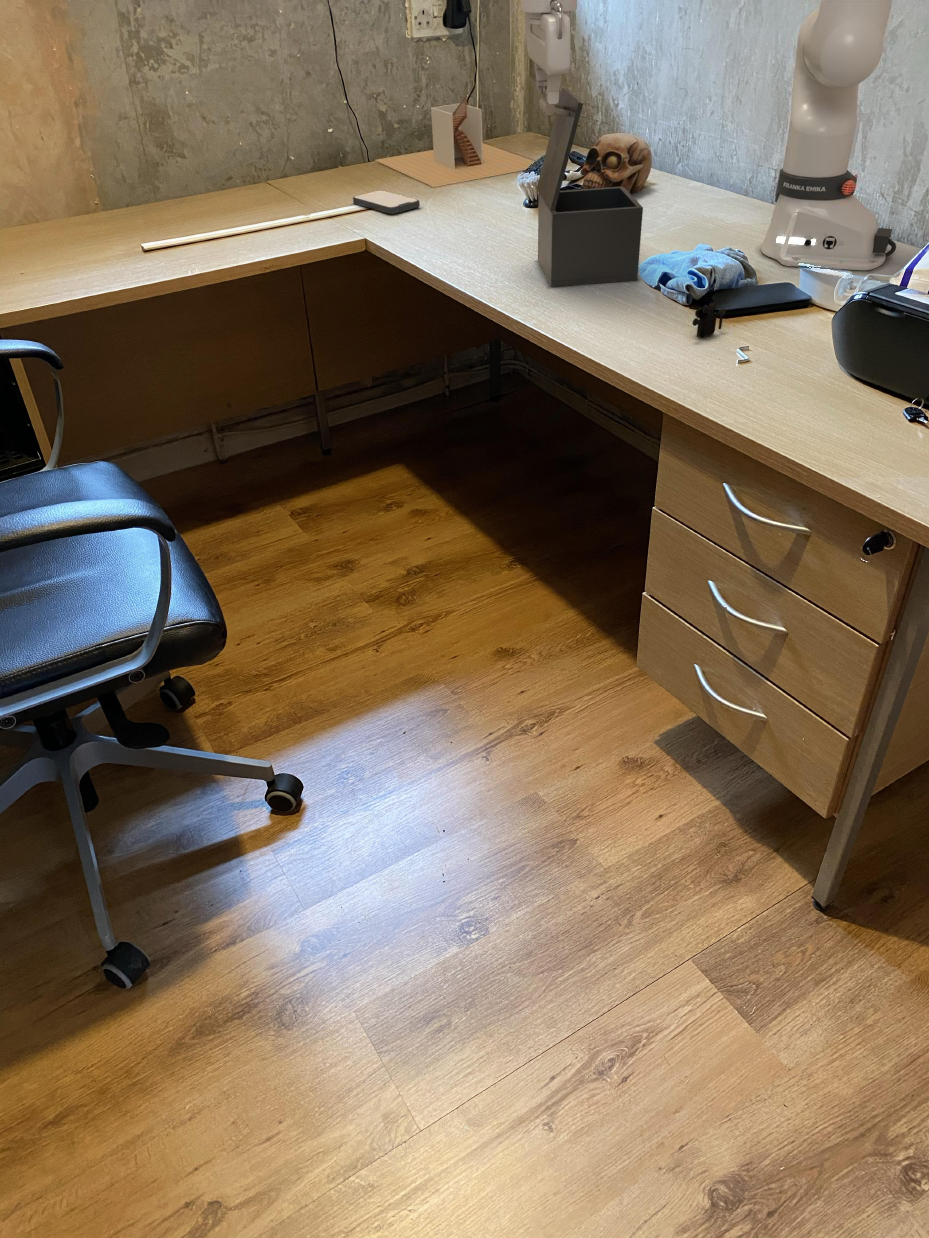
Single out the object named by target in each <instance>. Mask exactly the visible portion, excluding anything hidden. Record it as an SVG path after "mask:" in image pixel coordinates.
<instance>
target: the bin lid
mask: <svg viewBox="0 0 929 1238" xmlns="http://www.w3.org/2000/svg"><path fill="white" fill-rule="evenodd" d="M538 106H539V108H540V109H541V111H543V112H544V114H546V115H547V116H548V117H551V116H554V119H553V122H552V127H551V130H550V134H549V137H548V142H547V146H546V150H545V155H544V159H543V162H542V164H543V166H542V167H541V170H540V175H539V178H538V182H537V187H536V191H537V192H538V195H539V194H540V195H541V197H542V198H543V200H544V202H545V203H546V205H547V206H548V208H549V209H550V211H553V212H555V208H556V205H557V201H558V197H559V193H560V191H562V189H561V188H562V186H563V182H564V178H565V174H566V170H567V167H568V163H569V159H570V155H571V151H572V148H573V145H574V141H575V137H576V133H577V129H578V125H579V121H580V117H581V114H582V110H583V106H584V103H583V102H582V101H581V100H580V99H579V98H577V96H575V94H573V93H572V92H571V91H570V90H569V89H568V88H566V87H561V91H560V93H559V101H558V103H557V104H549V103H548V102H547V101H546V96H542V97H541V98H540V99H539V101H538Z"/></svg>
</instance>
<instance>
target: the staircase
mask: <svg viewBox="0 0 929 1238" xmlns="http://www.w3.org/2000/svg"><path fill="white" fill-rule="evenodd" d="M467 97H468V96H467V92H465V93H464V97H463V98H462V99H461V101H460V103H452V104H446V105H440V106H433V107H430V116H431V131H432V132H431V133H432V147H433V149H432V150H433V161H434V162H435V163H437V164H440V165H442V166H445V167H447V168H450V169H452V170H455V169H456V161H455V159H457V158H462V159H463V161H464V163H465V165H466V166H467V167H469V166H473V165H478V164H480V165H483V164H484V143H485V142H483V110H482V109H483V108H482V109H481V108H478V107H475V106H471V105H469V104H468V102H467V101H468V100H467V99H468V98H467Z"/></svg>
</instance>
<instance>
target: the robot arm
mask: <svg viewBox="0 0 929 1238" xmlns="http://www.w3.org/2000/svg"><path fill="white" fill-rule="evenodd" d="M892 4H893V0H820V5H819V6H818V7H816V8H815V9H814V10H812V12H810V13H809V14H808V15H807V17H806V18H805V19H804V21H803V22H802V24H801V26H800V29H799V32H798V36H797V41H796V42H797V43H796V51H795V59H794V70H793V81H792V92H791V94H792V95H791V108H790V120H789V128H788V133H787V139H786V146H785V150H784V151H785V152H784V156H783V157H784V159H783V164H782V168H780V169H779V173H778V176H777V181H776V185H775V186H776V187H775V193H774V202H775V204H774V209H773V213H772V216H771V219H770V221H769V222H770V223H769V225H768V229H767V231H766V234H765V236H764V239H763V241H762V243H761V245H760V247H759V250H760V251H761V253H762V254H763V255H765V256H767V257H769V258H771V259H773V260H776V261H777V262H778V263H780V264H781V266H782V265H783V266H787V267H798V264H799V263H804V264H810V265H814V266H821V267H828V268H827V269H832V268H833V269H834V270H848V271H849V270H851V271H871V270H875V269H877V268H879V267H880V266H882V265H883V264H884V263H885V261H886V260H887V258H888V257H890V256H891V255H893V254H894V253H895V252H896V250H897V244H896V242H895V241H894V240H893V239H891V236H892V231H893V229H892V228H884V227H879V225H878V220H877V218H876V217H877V216H875V215H874V213H872V211H870V210H869V209H868V208H867V207H866V205H864V204H863V203H862V202H861V201H860V200H859V199H858V198H857V197H856V196H855V195H854V194H855V191H856V187H857V183H858V174H857V173H855V175H854V174H853V173H852V172H851V171H849V170H848V167H849V163H850V158H851V152H852V148H853V143H854V137H855V133H856V130H857V129H856V128H857V125H858V115H857V114H858V113H857V112H858V111H857V110H858V95H859V84H861V83H862V82H864V81H865V80H867V79H868V78H869V77H870V76H871V75H872V74H873V73H874V71H875V70H876V68H877V67H878V65H879V63H880V62H881V59H882V55H883V51H884V42H885V41H884V39H885V36H886V35H885V34H886V30H887V26H888V23H889V18H890V13H891V10H892ZM577 9H578V0H520V11H521V13H524V26H525V27H524V29H525V40H526V41H525V42H526V51H527V56H528V58H529V59H530V60H532V61H533V62H534V71H535V80H536V92H537V93H538V94H540V95H541V94H545V95H546V96H545V97H546V101H547V102H548V103H549V104H558V102H559V98H560V89H561V84H562V77H563V76H562V75H568V74H569V73H570V69H571V57H572V56H571V49H572V48H571V45H572V42H571V37H572V36H571V35H572V33H571V20H570V17H569V16H570V12H573V11H576V10H577ZM889 246H890V250H888V247H889ZM833 269H832V270H833Z"/></svg>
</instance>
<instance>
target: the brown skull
mask: <svg viewBox="0 0 929 1238" xmlns="http://www.w3.org/2000/svg"><path fill="white" fill-rule="evenodd" d="M652 164H653V156H652V150H651V147H650V145H649V144H648V142H647V141H646V139H643V138H642V137H640V136H638V135H635V134H631V133H626V132H616V133H607V134H603V135H601V136H600V137H599V139H598V140H597V141H596V142H595V144H594V146H592V147H590V149H589V150H588V152H587V154H586V156H585V159H584V163H583V167H582V168H581V169H580V172H579V173H580V175H581V176H584V177H583V181H582V187H581V189H594V188H608V187H622V186H623V187H624V188H625V189H626V190H627V191H628V192H629V193H630V194H632V193H633V194H634V193H637V192H639V191H640V190H641V188H642V187H644V185H645V184H646V182H647V180H648V178H649V176H650V174H651V170H652V166H653V165H652Z"/></svg>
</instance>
